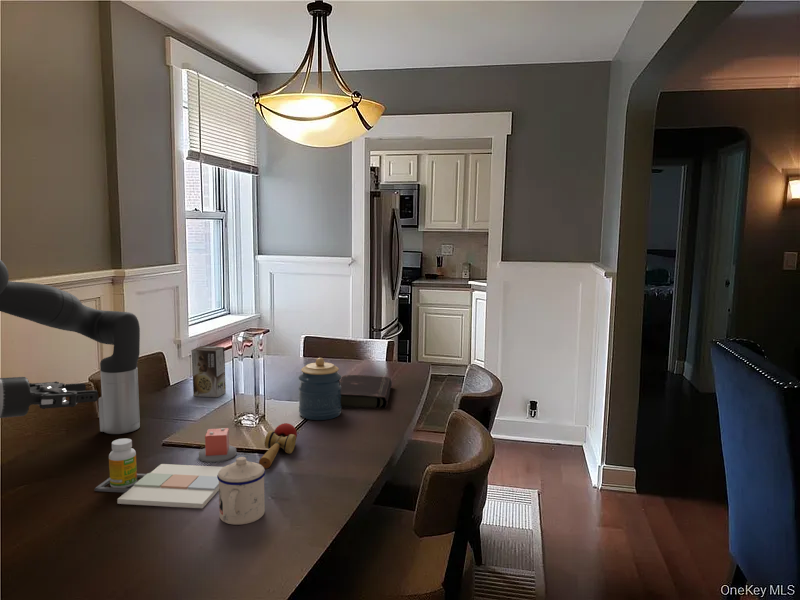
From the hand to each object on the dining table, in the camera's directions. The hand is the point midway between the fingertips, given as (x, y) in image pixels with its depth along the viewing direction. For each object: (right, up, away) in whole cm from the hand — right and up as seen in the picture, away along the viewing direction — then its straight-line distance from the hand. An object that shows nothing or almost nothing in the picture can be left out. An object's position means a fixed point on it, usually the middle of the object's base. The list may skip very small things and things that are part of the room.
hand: (91, 391), depth 120 cm
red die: (+19, -20, +24) cm, 36 cm away
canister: (+40, -16, +57) cm, 72 cm away
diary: (+52, -15, +76) cm, 93 cm away
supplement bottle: (+3, -22, +7) cm, 23 cm away
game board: (+12, -22, +7) cm, 26 cm away
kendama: (+34, -20, +25) cm, 47 cm away
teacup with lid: (+33, -24, -7) cm, 41 cm away
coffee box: (-1, -13, +77) cm, 78 cm away
